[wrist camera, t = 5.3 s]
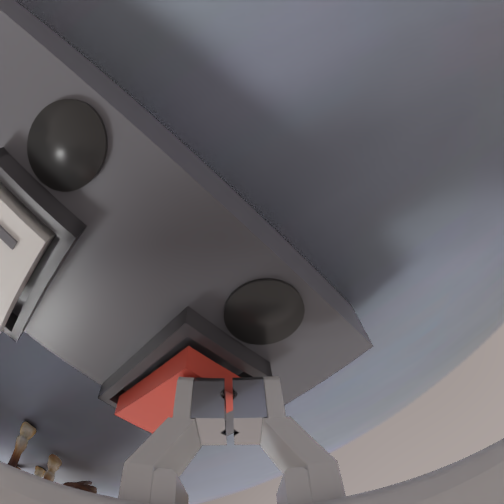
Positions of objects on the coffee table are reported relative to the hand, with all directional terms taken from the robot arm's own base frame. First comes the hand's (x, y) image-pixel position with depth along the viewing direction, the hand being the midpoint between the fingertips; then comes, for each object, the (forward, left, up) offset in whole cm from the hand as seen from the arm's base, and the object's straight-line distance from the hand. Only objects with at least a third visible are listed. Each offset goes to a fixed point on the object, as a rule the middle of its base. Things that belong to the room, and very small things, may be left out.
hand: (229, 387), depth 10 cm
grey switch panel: (-1, +12, -5) cm, 13 cm away
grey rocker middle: (-3, +9, -1) cm, 9 cm away
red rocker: (-3, 0, -1) cm, 3 cm away
